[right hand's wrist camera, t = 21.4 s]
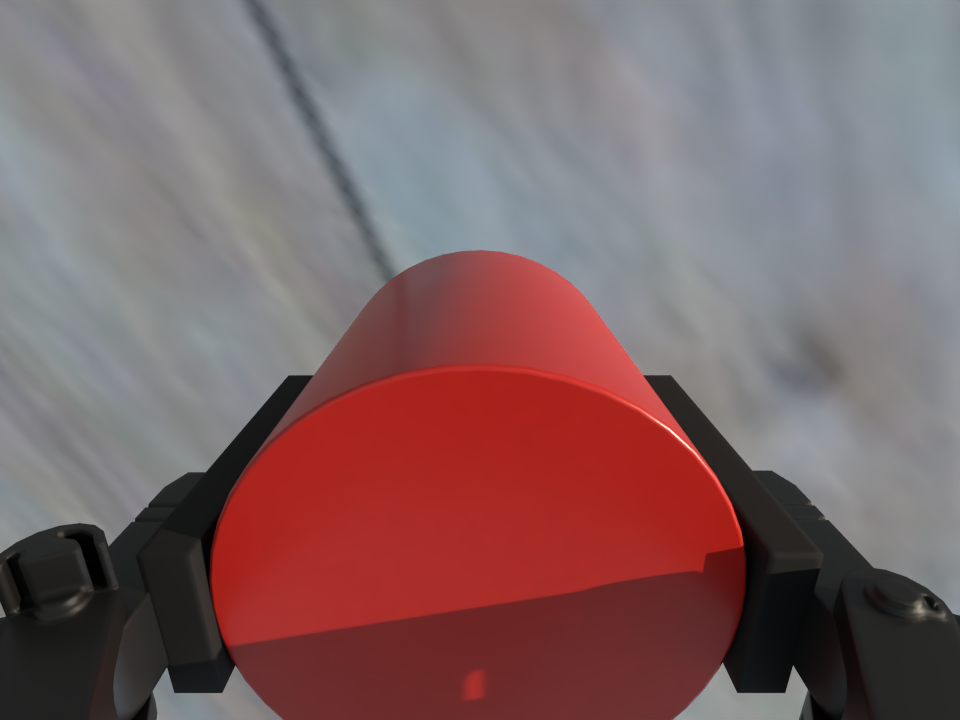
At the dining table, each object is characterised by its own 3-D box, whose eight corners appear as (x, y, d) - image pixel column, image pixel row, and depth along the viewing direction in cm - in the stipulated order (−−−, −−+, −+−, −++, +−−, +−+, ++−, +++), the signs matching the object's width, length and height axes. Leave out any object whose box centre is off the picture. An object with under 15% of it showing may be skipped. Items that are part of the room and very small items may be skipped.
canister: (540, 532, 18) (589, 831, 10) (308, 446, 17) (155, 709, 9) (666, 319, 16) (865, 499, 8) (400, 200, 14) (299, 261, 6)
